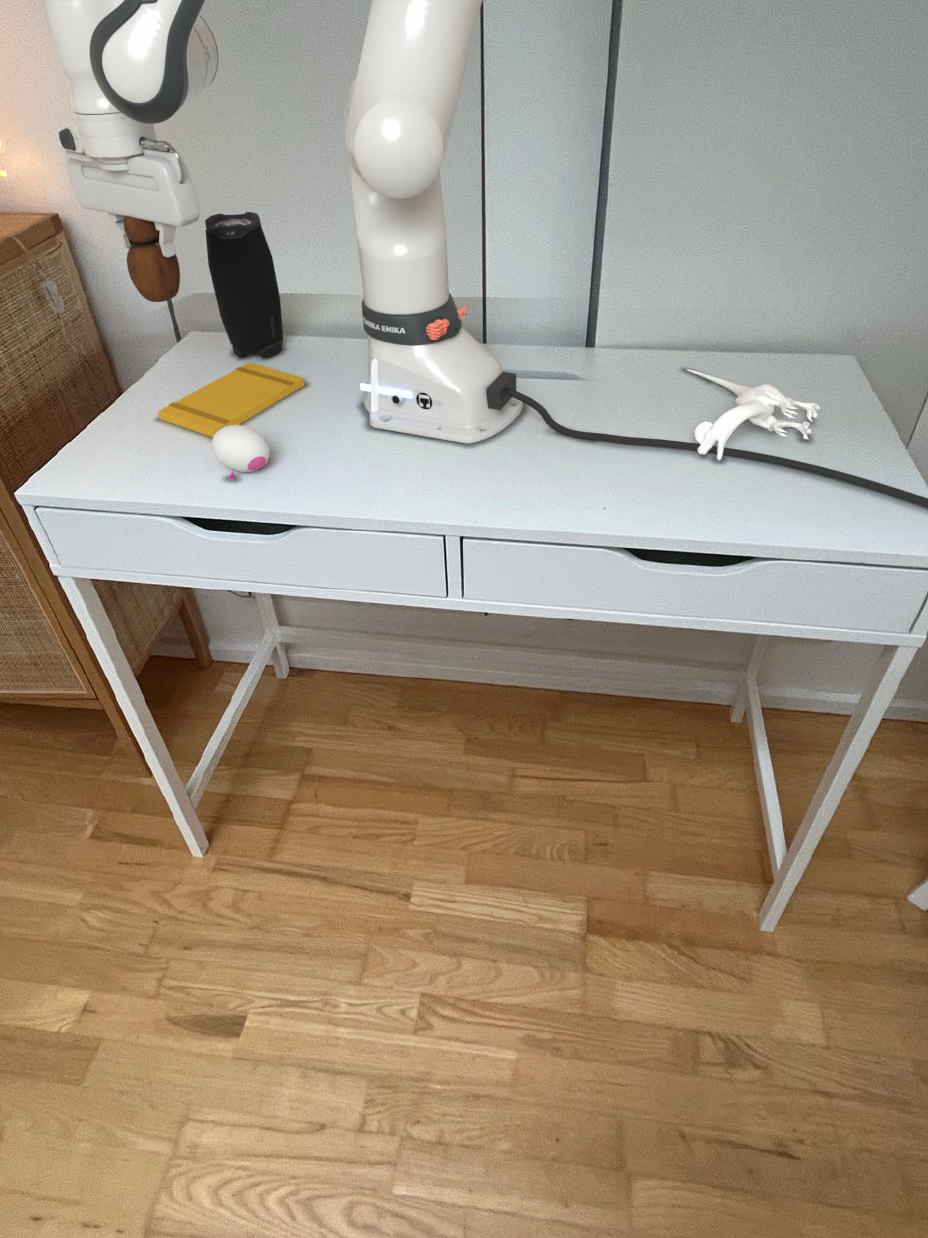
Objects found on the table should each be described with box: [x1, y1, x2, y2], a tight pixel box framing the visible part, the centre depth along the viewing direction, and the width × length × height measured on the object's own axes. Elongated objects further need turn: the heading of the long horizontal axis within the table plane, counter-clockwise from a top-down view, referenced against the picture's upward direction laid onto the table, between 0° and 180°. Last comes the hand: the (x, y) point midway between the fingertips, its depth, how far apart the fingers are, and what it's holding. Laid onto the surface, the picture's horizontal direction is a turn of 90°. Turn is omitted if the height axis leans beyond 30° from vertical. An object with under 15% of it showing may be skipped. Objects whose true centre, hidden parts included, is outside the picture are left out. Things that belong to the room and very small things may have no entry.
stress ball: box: [211, 424, 271, 481], centre depth 104 cm, size 8×8×7 cm
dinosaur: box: [685, 368, 821, 461], centre depth 110 cm, size 25×9×16 cm
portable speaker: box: [204, 211, 284, 359], centre depth 125 cm, size 9×9×20 cm
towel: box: [157, 362, 306, 438], centre depth 118 cm, size 11×18×1 cm, turn 147°
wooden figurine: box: [124, 183, 181, 303], centre depth 110 cm, size 7×6×15 cm
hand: (150, 251), depth 111 cm, fingers closed on wooden figurine, 5 cm apart
